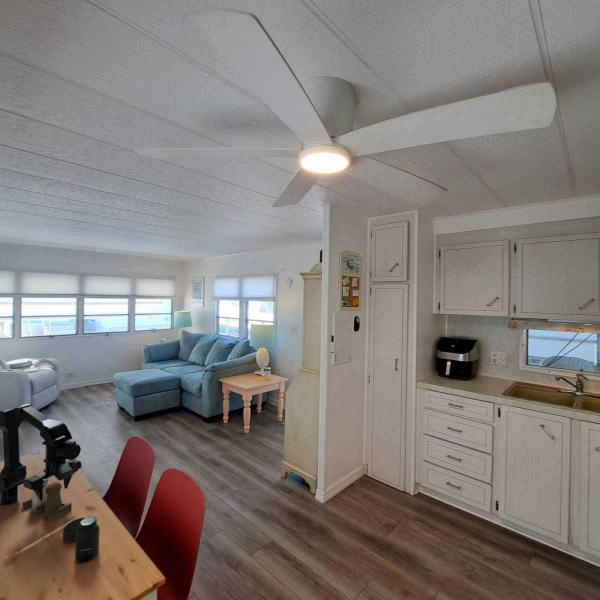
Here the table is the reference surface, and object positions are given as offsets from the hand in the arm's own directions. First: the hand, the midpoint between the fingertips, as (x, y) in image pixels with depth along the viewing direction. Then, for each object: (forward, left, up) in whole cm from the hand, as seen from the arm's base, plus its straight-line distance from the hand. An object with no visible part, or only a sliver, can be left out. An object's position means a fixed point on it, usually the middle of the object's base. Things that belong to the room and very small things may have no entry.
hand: (53, 494), depth 133 cm
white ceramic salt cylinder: (-9, 0, -7) cm, 11 cm away
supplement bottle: (+34, -8, -8) cm, 36 cm away
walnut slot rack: (-4, 0, -8) cm, 9 cm away
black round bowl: (+21, -3, -8) cm, 22 cm away
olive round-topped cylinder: (0, 0, -7) cm, 7 cm away
